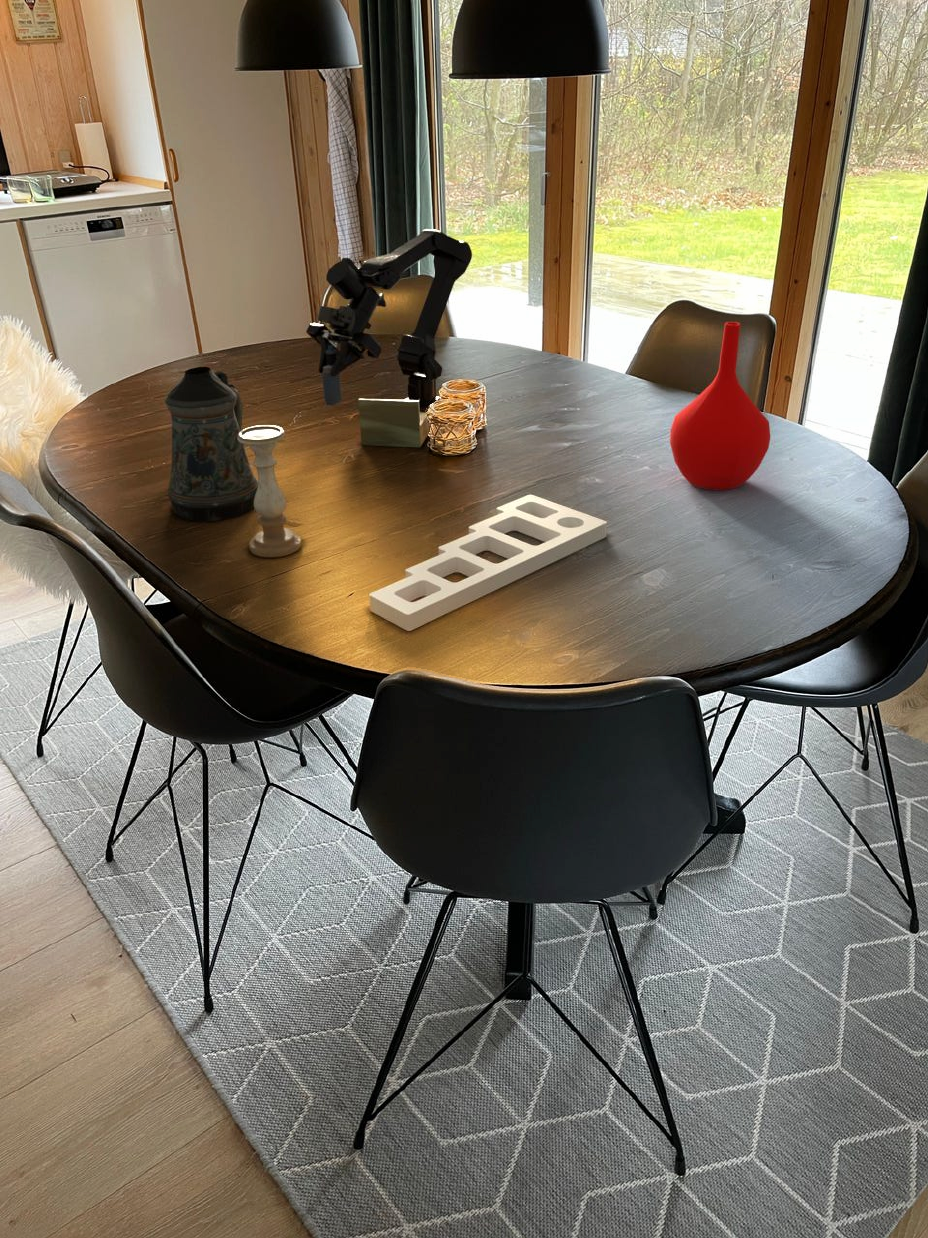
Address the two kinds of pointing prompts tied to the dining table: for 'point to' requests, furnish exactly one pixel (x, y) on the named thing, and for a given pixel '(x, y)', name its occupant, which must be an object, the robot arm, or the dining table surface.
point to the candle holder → (268, 495)
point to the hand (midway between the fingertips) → (326, 373)
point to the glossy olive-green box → (392, 423)
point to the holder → (525, 515)
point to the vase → (720, 428)
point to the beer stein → (208, 449)
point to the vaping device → (331, 379)
